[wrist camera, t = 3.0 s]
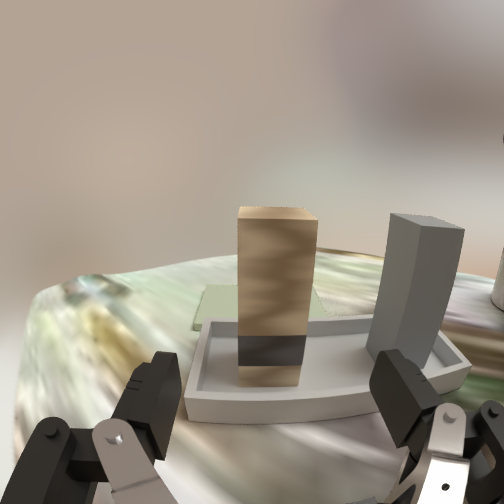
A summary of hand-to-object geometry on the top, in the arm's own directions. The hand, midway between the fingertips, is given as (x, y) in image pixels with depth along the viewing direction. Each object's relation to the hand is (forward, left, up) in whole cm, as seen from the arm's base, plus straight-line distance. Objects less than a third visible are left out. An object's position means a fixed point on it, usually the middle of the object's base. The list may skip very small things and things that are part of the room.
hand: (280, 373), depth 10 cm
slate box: (-17, +6, -10) cm, 20 cm away
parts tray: (-13, 0, -11) cm, 17 cm away
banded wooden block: (-10, -5, -10) cm, 15 cm away
